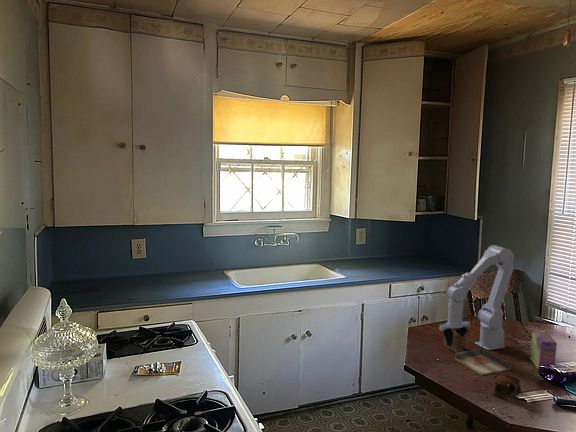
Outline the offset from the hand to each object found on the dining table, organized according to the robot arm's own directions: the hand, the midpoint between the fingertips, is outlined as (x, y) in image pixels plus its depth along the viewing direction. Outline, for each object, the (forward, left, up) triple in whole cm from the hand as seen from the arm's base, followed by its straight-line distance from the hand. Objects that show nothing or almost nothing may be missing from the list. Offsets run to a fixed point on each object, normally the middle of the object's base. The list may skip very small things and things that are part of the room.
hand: (453, 344), depth 195 cm
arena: (0, +17, -2) cm, 17 cm away
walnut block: (0, 0, -2) cm, 2 cm away
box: (-22, +25, -2) cm, 33 cm away
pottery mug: (+9, +39, -2) cm, 40 cm away
